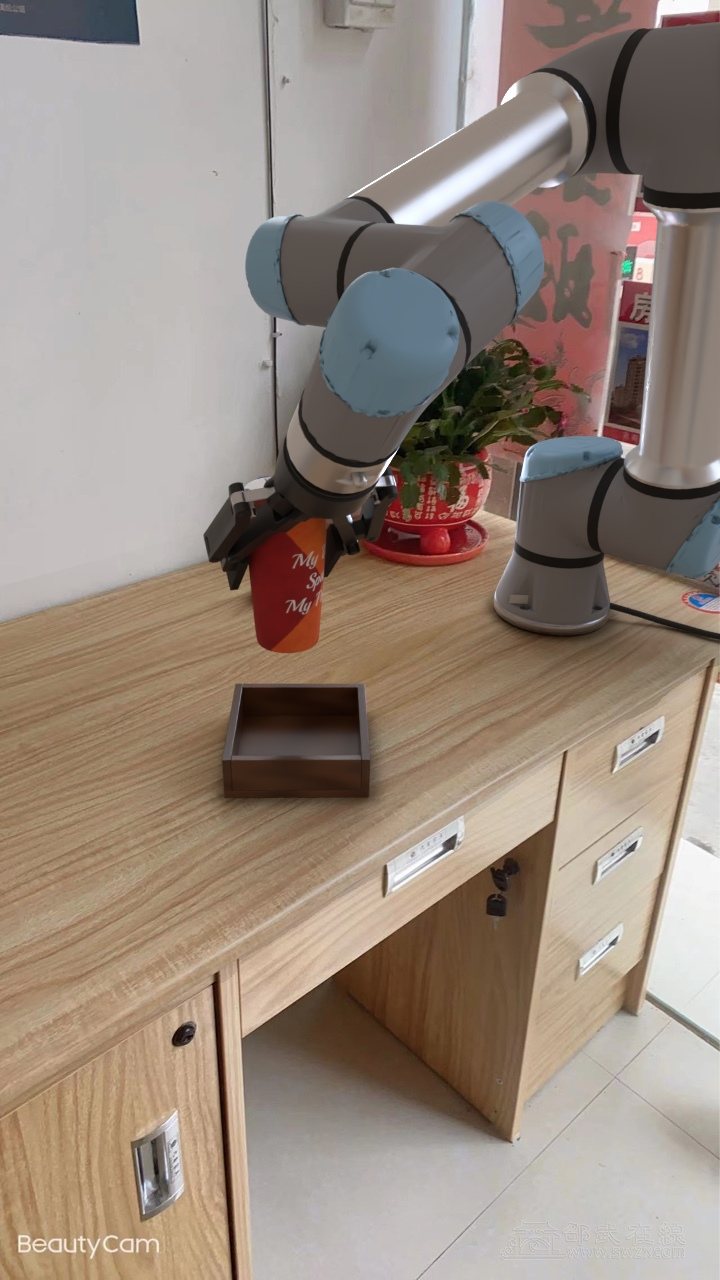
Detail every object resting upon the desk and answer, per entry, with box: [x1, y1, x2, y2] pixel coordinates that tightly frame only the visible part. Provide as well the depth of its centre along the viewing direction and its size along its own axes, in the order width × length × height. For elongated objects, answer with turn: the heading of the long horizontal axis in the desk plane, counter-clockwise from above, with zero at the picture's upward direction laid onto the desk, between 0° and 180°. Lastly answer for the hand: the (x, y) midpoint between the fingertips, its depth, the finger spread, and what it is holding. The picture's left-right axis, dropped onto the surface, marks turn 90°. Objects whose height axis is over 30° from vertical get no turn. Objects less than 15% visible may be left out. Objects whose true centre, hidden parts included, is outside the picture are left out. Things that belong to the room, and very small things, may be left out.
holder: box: [221, 683, 371, 798], centre depth 88 cm, size 14×14×4 cm
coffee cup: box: [244, 476, 328, 654], centre depth 81 cm, size 8×8×15 cm
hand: (276, 570), depth 85 cm, fingers closed on coffee cup, 8 cm apart
